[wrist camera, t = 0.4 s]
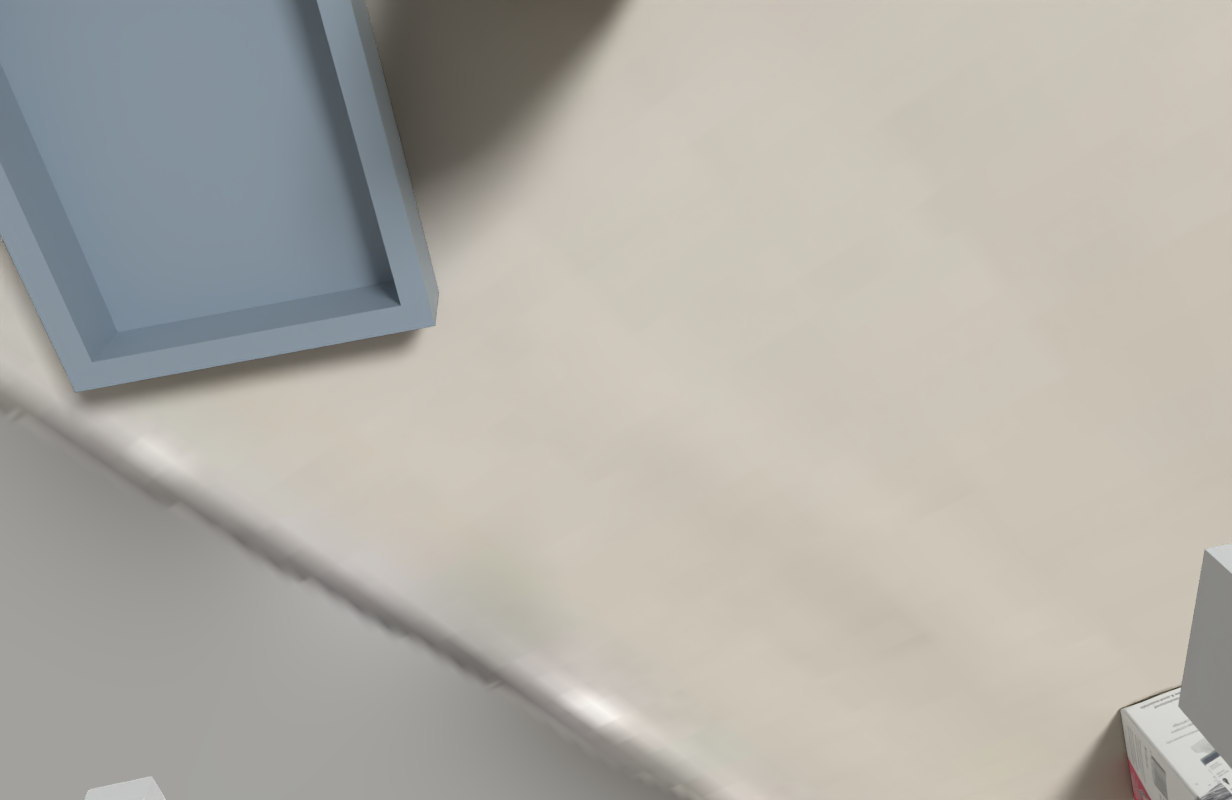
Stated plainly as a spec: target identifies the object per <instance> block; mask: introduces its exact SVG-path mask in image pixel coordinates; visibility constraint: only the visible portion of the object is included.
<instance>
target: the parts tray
mask: <svg viewBox="0 0 1232 800" xmlns="http://www.w3.org/2000/svg"><path fill="white" fill-rule="evenodd" d="M0 235H1V237H2V239H3V241H4V244H5V246H6V248H7V250H8V252H9V254H10V256H11V258H12V260H13V263H14V265H15V267H16V269H17V271H18V273H19V275H20V277H21V279H22V281H23V284H24V286H25V288H26V290H27V292H28V294H29V296H30V298H31V300H32V302H33V305H34V307H35V309H36V311H37V313H38V315H39V317H40V319H41V321H42V323H43V326H44V328H45V330H46V332H47V334H48V336H49V338H50V340H51V342H52V344H53V347H54V349H55V351H56V353H57V355H58V357H59V359H60V361H61V363H62V366H63V368H64V370H65V372H66V374H67V376H68V378H69V380H70V382H71V384H72V387H73V389H74V391H75V392H80V391H86V390H91V389H97V388H102V387H107V386H113V385H118V384H124V383H129V382H134V381H140V380H145V379H151V378H156V377H161V376H167V375H172V374H178V373H183V372H188V371H194V370H199V369H205V368H210V367H215V366H221V365H226V364H232V363H237V362H242V361H248V360H253V359H259V358H264V357H269V356H275V355H280V354H286V353H291V352H296V351H302V350H307V349H313V348H318V347H323V346H329V345H334V344H340V343H345V342H350V341H356V340H361V339H367V338H372V337H377V336H383V335H388V334H394V333H399V332H404V331H410V330H415V329H421V328H426V327H431V326H435V324H436V315H437V306H438V297H439V291H438V287H437V283H436V279H435V275H434V271H433V267H432V263H431V259H430V255H429V251H428V247H427V243H426V240H425V236H424V232H423V228H422V224H421V220H420V216H419V212H418V208H417V204H416V200H415V196H414V192H413V188H412V184H411V180H410V177H409V173H408V169H407V165H406V161H405V157H404V153H403V149H402V145H401V141H400V137H399V133H398V129H397V125H396V121H395V117H394V113H393V110H392V106H391V102H390V98H389V94H388V90H387V86H386V82H385V78H384V74H383V70H382V66H381V62H380V58H379V54H378V50H377V47H376V43H375V39H374V35H373V31H372V27H371V23H370V19H369V15H368V11H367V7H366V3H365V0H0Z"/></svg>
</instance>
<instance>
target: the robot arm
mask: <svg viewBox="0 0 1232 800" xmlns="http://www.w3.org/2000/svg"><path fill="white" fill-rule="evenodd" d="M1178 707H1179V708H1180V709H1181V710H1182V711H1183V713H1184V714H1185V715H1186V716H1187V717H1188V718H1189V720H1190V721H1191V722H1192V723H1193V724H1194V726H1195V727H1196V728H1197V729H1198V730H1199V731H1200V733H1201V734H1202V735H1203V736H1204V737H1205V738H1206V740H1207V741H1208V742H1209V743H1210V744H1211V745H1212V747H1213V748H1214V749H1215V750H1216V751H1217V753H1218V754H1219V755H1220V756H1221V757H1222V758H1223V760H1224V761H1225V762H1226V763H1227V764H1228V765H1229V767H1230V768H1231V769H1232V543H1230V544H1226V545H1221V546H1216V547H1212V548H1207V549H1205V551H1204V557H1203V563H1202V568H1201V574H1200V580H1199V586H1198V592H1197V598H1196V604H1195V609H1194V615H1193V621H1192V627H1191V633H1190V639H1189V645H1188V650H1187V656H1186V662H1185V668H1184V674H1183V680H1182V685H1181V691H1180V697H1179V703H1178ZM84 800H166V799H165V797H164V795H163V794H162V792H161V790H160V788H159V787H158V785H157V783H156V782H155V780H154V779H153V777H152V776H149V777H144V778H139V779H135V780H130V781H126V782H121V783H116V784H111V785H107V786H102V787H98V788H93V789H89V790H88V791H87V794H86V796H85V798H84Z"/></svg>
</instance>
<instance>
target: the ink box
mask: <svg viewBox="0 0 1232 800" xmlns="http://www.w3.org/2000/svg"><path fill="white" fill-rule="evenodd" d="M1180 691H1181V687H1180V688H1177V689H1175V690H1172V691H1169V692H1166V693H1163V694H1161V695H1158V696H1156V697H1153V698H1151V699H1148V700H1146V701H1143V702H1141V703H1138V704H1135V705H1132V706H1128V707H1125V708H1122V709H1121V718H1122V724H1123V730H1124V736H1125V743H1126V749H1127V755H1128V761H1129V768H1130V773H1131V780H1132V787H1133V792H1134V799H1135V800H1232V769H1231V768H1230V767H1229V765H1228V764H1227V763H1226V762H1225V761H1224V760H1223V758H1222V757H1221V756H1220V755H1219V754H1218V753H1217V751H1216V750H1215V749H1214V748H1213V747H1212V745H1211V744H1210V743H1209V742H1208V741H1207V740H1206V738H1205V737H1204V736H1203V735H1202V734H1201V733H1200V731H1199V730H1198V729H1197V728H1196V727H1195V726H1194V724H1193V723H1192V722H1191V721H1190V720H1189V718H1188V717H1187V716H1186V715H1185V714H1184V713H1183V711H1182V710H1181V709H1180V708H1179V707H1178V703H1179V697H1180Z"/></svg>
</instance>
